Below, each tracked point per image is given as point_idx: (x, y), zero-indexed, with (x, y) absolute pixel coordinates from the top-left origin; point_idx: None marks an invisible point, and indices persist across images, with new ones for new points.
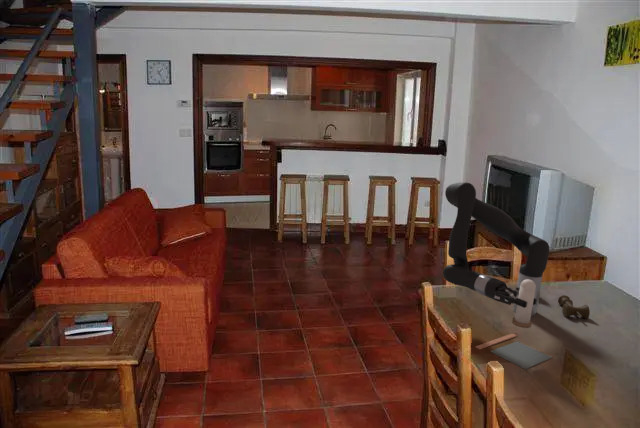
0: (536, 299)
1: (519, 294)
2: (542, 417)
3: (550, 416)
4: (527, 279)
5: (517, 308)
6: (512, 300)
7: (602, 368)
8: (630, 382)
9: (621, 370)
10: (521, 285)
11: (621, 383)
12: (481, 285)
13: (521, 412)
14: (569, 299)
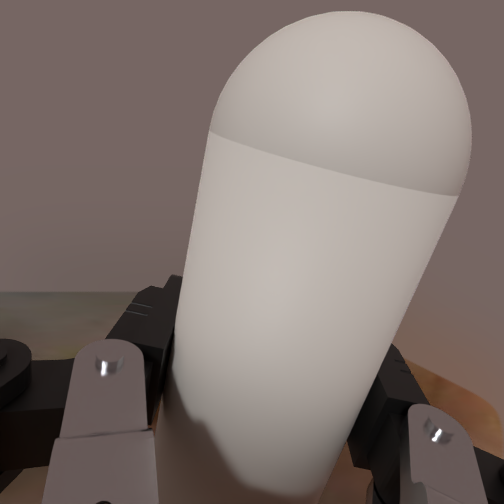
0: (171, 276)
1: (391, 341)
2: (444, 388)
3: (421, 378)
4: (389, 18)
5: (319, 497)
6: (482, 463)
7: (52, 340)
8: (103, 296)
9: (31, 309)
10: (466, 174)
11: (126, 307)
12: None
13: (490, 423)
14: None
